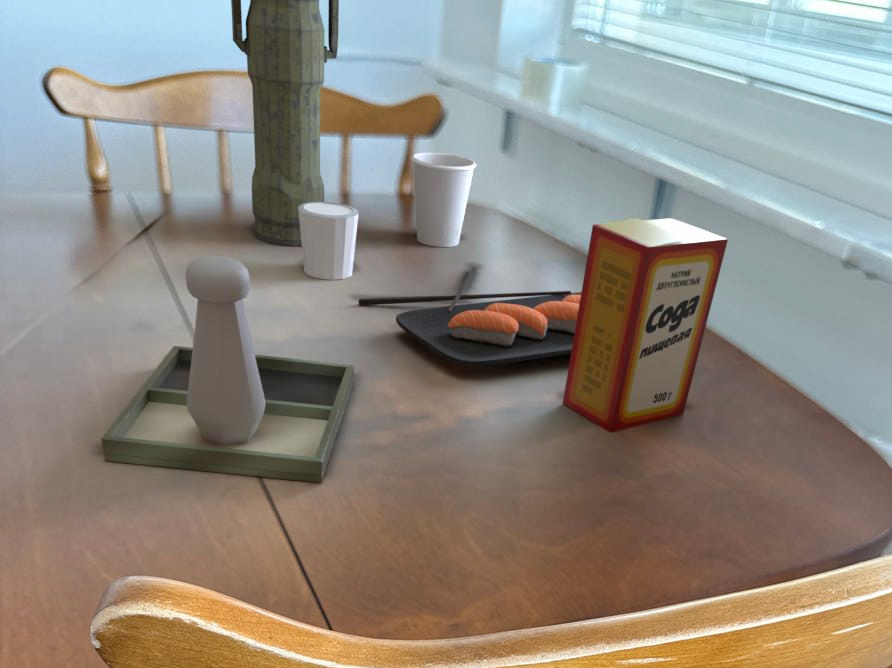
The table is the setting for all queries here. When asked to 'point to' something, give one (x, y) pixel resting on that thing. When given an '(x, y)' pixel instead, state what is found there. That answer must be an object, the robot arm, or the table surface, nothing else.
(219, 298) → the salt shaker
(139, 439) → the sorting tray
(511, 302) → the sushi plate
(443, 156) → the dixie cup
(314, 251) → the white faceted cup
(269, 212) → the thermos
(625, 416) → the baking soda box
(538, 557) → the table surface
